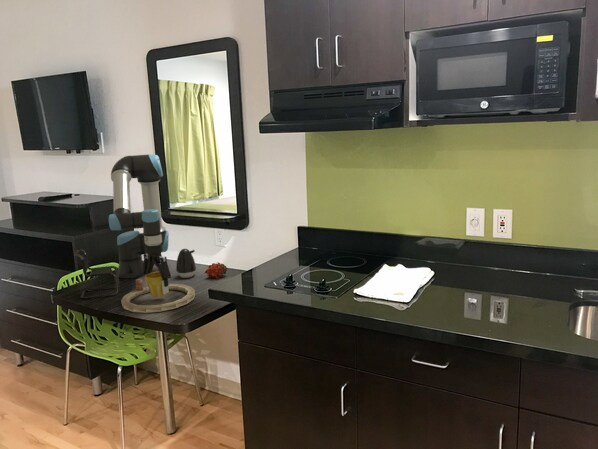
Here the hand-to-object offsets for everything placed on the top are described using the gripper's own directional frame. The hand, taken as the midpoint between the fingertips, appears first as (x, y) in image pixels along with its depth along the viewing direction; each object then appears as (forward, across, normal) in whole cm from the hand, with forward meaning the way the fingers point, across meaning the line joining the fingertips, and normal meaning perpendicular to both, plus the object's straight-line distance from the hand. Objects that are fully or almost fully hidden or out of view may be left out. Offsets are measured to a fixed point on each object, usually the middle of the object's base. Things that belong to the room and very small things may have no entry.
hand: (158, 290), depth 224 cm
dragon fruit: (+4, -2, +38) cm, 38 cm away
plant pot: (+2, 0, 0) cm, 2 cm away
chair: (+4, -33, -9) cm, 35 cm away
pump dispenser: (+4, -17, +30) cm, 35 cm away
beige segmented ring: (+4, 0, 0) cm, 4 cm away
